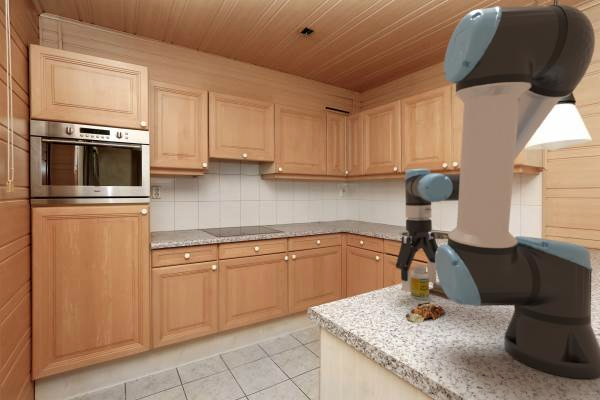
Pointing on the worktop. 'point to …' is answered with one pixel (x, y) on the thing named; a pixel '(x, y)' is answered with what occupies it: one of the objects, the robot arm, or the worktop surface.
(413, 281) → the supplement bottle
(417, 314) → the brown lumpy food piece
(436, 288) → the socket board
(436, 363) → the worktop surface
